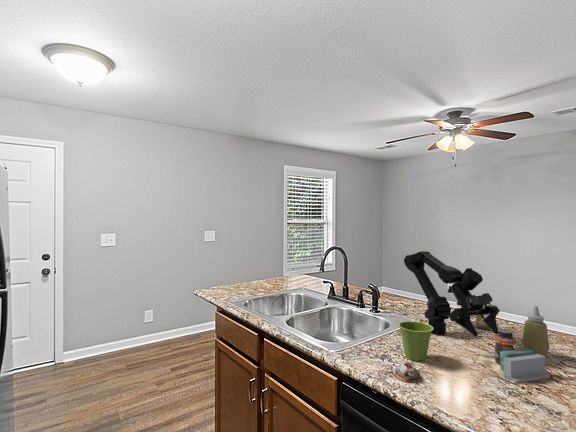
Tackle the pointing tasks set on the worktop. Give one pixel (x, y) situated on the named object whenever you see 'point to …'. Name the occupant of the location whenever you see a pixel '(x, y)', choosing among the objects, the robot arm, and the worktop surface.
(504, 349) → the supplement bottle
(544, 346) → the squeeze bottle
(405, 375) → the pastry
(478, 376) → the worktop surface
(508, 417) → the worktop surface
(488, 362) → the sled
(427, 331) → the plant pot
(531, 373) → the backstop wall
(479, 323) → the fennel bulb
